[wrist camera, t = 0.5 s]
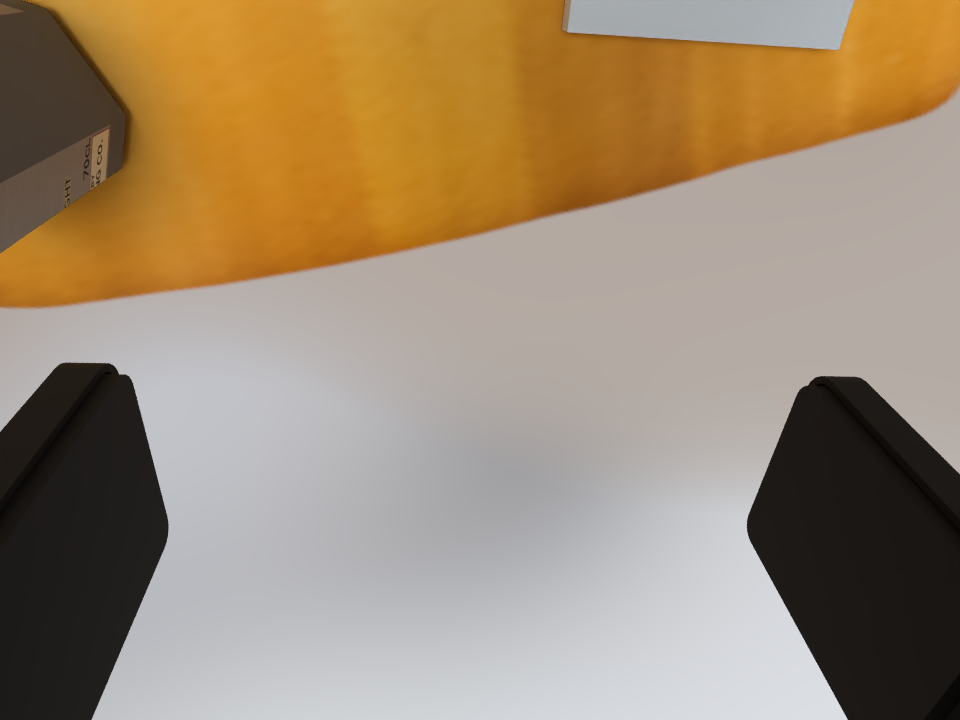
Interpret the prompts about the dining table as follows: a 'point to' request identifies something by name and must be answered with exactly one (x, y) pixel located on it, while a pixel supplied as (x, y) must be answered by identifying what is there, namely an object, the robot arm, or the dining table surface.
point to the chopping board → (715, 20)
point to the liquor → (49, 122)
